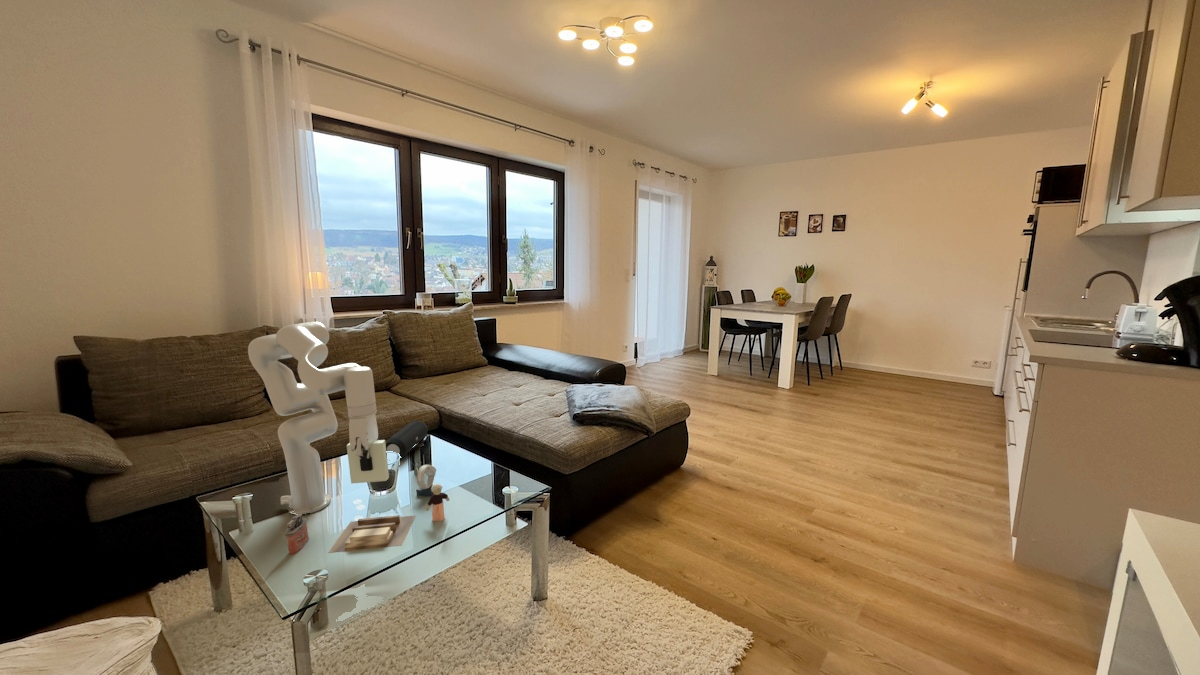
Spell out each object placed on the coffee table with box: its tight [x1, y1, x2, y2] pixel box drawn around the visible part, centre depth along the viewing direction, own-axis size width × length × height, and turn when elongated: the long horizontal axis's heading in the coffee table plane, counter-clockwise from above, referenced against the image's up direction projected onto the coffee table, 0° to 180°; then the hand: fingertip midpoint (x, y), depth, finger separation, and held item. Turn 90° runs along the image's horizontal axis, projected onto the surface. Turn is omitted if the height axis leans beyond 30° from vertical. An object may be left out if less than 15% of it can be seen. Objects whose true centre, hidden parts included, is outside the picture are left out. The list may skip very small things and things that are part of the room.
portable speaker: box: [385, 420, 428, 459], centre depth 204 cm, size 26×10×10 cm, turn 177°
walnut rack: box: [328, 514, 417, 554], centre depth 140 cm, size 20×16×4 cm
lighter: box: [284, 514, 310, 555], centre depth 134 cm, size 8×3×10 cm, turn 5°
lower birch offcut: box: [345, 531, 393, 548], centre depth 136 cm, size 12×4×2 cm, turn 97°
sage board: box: [346, 439, 390, 485], centre depth 139 cm, size 10×2×12 cm, turn 97°
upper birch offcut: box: [350, 527, 391, 542], centre depth 136 cm, size 10×4×2 cm, turn 97°
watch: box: [416, 464, 437, 497], centre depth 163 cm, size 6×8×11 cm
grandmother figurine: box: [425, 482, 450, 522], centre depth 146 cm, size 8×4×13 cm, turn 148°
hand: (368, 467), depth 139 cm, fingers closed on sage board, 2 cm apart
